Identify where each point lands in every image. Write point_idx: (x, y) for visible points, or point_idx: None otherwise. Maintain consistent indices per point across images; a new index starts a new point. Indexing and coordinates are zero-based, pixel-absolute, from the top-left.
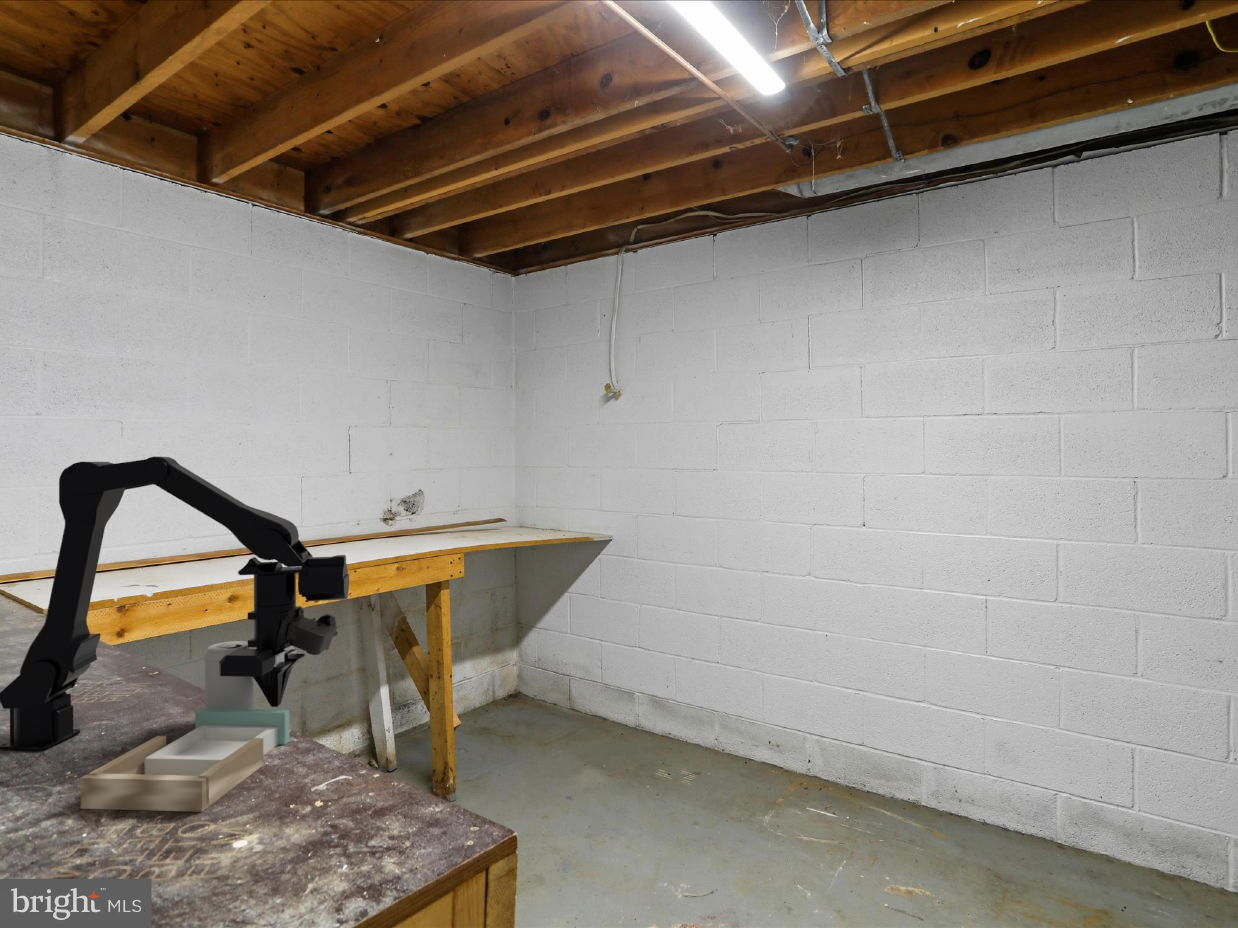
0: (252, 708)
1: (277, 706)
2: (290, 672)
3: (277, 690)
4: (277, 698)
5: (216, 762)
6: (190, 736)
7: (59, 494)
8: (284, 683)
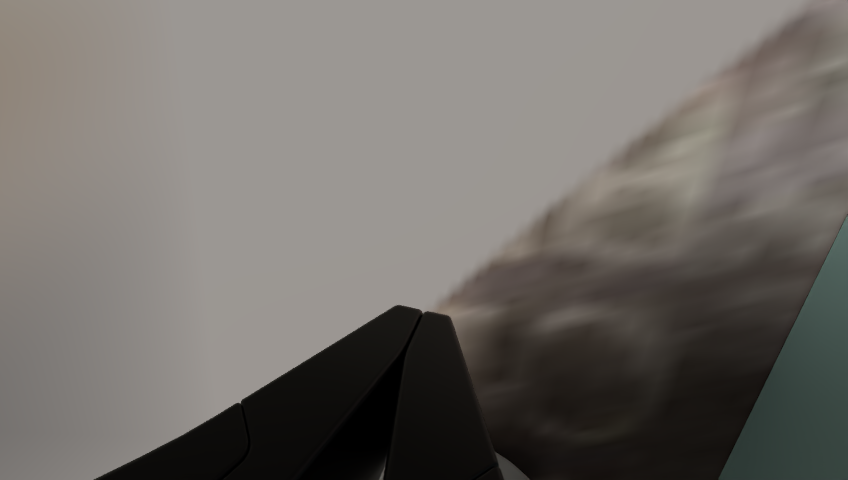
0: None
1: (443, 315)
2: (114, 470)
3: (485, 434)
4: (464, 364)
5: None
6: None
7: None
8: (321, 420)
